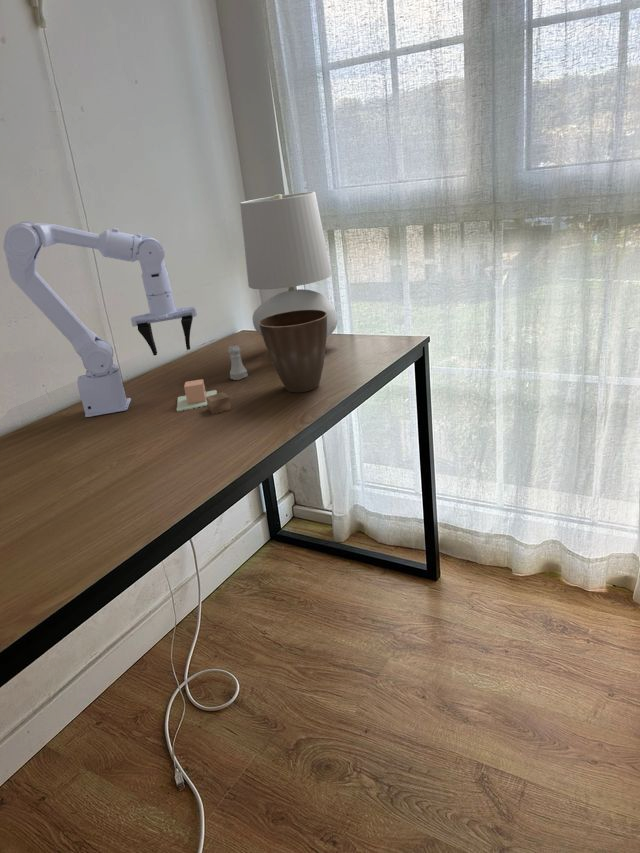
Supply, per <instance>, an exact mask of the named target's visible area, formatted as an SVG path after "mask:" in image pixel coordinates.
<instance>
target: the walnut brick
mask: <svg viewBox="0 0 640 853" xmlns="http://www.w3.org/2000/svg"><path fill="white" fill-rule="evenodd" d="M206 400H207V405H208V406H207V408H208V411H210V412H211V413H212V412H213V413H216V412H220V411H223V412H225V411H224V410H227V411H230V410H232V406H231V400H230V396H229V395H227V394H226V393H225V392H220V393H217V394H215V395H211V396H208V397H206ZM229 409H230V410H229ZM213 413H212V414H213ZM220 413H221V412H220ZM216 414H217V413H216Z"/></svg>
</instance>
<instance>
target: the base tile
mask: <svg viewBox="0 0 640 853" xmlns="http://www.w3.org/2000/svg"><path fill="white" fill-rule="evenodd" d="M215 394H218V391H217V390H216V389H213V390H210V391H209V390H208V391H206V397H208V396H211V395H215ZM203 406H206V407H208V406H207V400H206V401H204V402H197V403H191V404H188V403H187V398H186V395H182V396H178V397H177V403H176V412H182V411H183V410H184V411H188V409H189V410H193V408H195V409H199V408H198V407H200V408H204V407H203Z"/></svg>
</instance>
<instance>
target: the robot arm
mask: <svg viewBox="0 0 640 853" xmlns="http://www.w3.org/2000/svg"><path fill="white" fill-rule="evenodd" d="M56 244H64V245H69V246H77V247H83V248H87V249H88V248H90V249H95V250H98V251H99V252H100V254H101V255H102V256H103V257H105V258H110V259H115V260H121V261H126V262H132V263H134V262H136V261H138V263H140V268H141V271H142V273H141V279H142V282H143V283H142V285H143V288H144V292H145V296H146V301H147V305H148V310H149V312H147V313H144V314H139V315H135V316H131V317H130V321H131V325H132V328H133V327H137V330H138V333H139V334H140V335H141V336H142V338H143V339H144V340H145V342H146V343H147V345H148V346H149V348H150V350H151V353H152V356H157V355H158V350H157V346H156V342H155V339H154V336H153V335H154V334H153V330H152V324H155V323H161V322H164V321H165V322H167V321H172V320H173V321H174V320H178V319H180V323H181V328H182V330H183V331H182V332H183V334H184V341H185V348H186V351H189V350H191V340H190V338H191V329H192V324H193V319H194V317H195V318H196V317H198V313H197V308H196V306H190V307H189V306H188V307H179V308H176V304H175V300H174V295H173V291H172V286H171V281H170V277H169V273H168V270H167V269H166V267H167V266H166V262H165V260H164V258H165V250H164V248H163V246H162V245H161V243H160V242H159V240H157V239H156V238H153V237H150V236H143V235H142V234H141V233H137V234H136V235H135V234H132V233H127V232H122V231H120V229H119V228H117V227H116V228H115V227H112V230H111V229H106V230H103V232H101V233H94V232H90V231H87V230H81V229H77V228H72V227H69V226H65V225H64V226H63V225H59V224H54V223H46V222H45V223H44V222H35V223H34V222H31V221H21V222H18V223H15V224H13V225H10V226H9V227H8V229H7V230H6V232H5V235H4V240H3V246H2V247H3V248H2V249H3V251H4V253H5V257H6V262H7V267H8V271H9V276H10V278H11V280H12V281H13V283H15V284H16V285H17V287H18V288H19V289H20V290H21V291H22V292H23V293H24V294H25V295H26V296H27V298H29V299H30V300H31V302H32V303H34V305H35V306H36V308H38V309H39V310H40V311H41V312H42V314H44V316H45V317H46V318H47V319H48V320H49V321H50V322H51V323H52V324H53V325H54V326H55V328H57V330H58V331H59V332H60V333H61V334H62V335H63V337H65V338H66V339H67V341H69V343H70V344H71V346H72V347H73V350H75V353H76V354H77V355H78V356H79V357H80V358H81V359H80V360H81V361H82V365H83V368H84V369H85V370H86V371H85V374H82V375H78V377H77V389H78V393H79V396H80V400H81V404H82V406H83V412H84V414H85V415H84V416H85V418H90V417H95V416H96V417H97V416H102V415H107V414H114V413H118V412H124V411H128V409H129V406H130V405H131V401H132V398H131V397H127V396H126V392H125V387H124V384H123V380H122V377H121V372H120V368H119V366H118V365H117V364H116V363H114V349H113V346H112V345H111V343H110V342H108V341H107V340H105V339H102V338H101V337H99V336H98V335H97V334H96V333H95V332H94V331H92V330H91V329H89V328H88V327H87V326H86V325H85V324H84V322H83V321H82V320H81V319H80V318H79V317H78V316H77V315H76V314H75V312H73V309H71V308H70V307H69V306H68V305H67V303H66V302H64V300H63V299H62V298H61V297H60V296H59V295H58V294H57V293H56V292H55V291H54V289H53V288H52V287H51V286H50V285H49V284H48V283H47V281H46V280H45V279H44V278H43V277H42V276H41V274H39V272H37V264H38V255H39V252H40V250H41V248H46V247H50V246H53V245H56Z"/></svg>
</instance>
